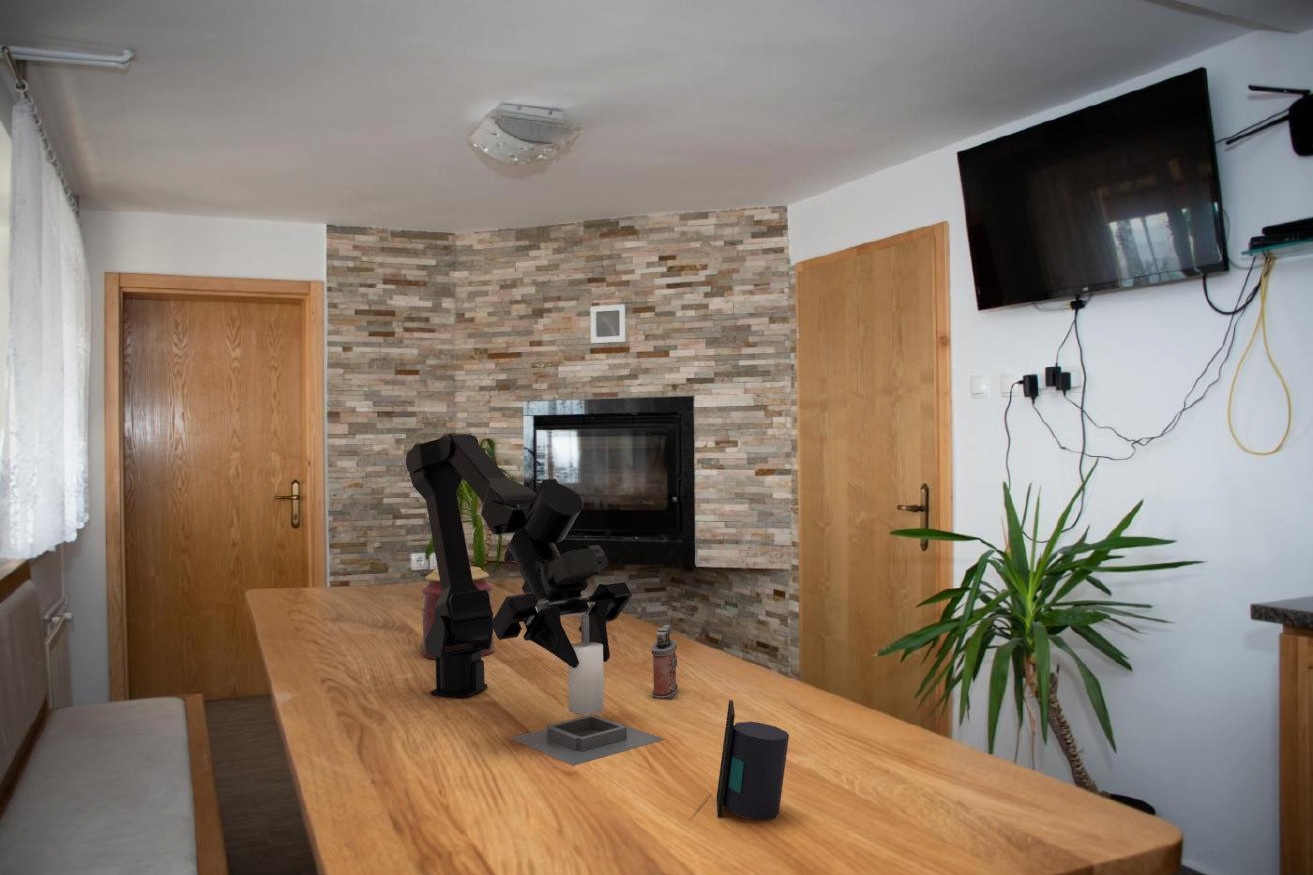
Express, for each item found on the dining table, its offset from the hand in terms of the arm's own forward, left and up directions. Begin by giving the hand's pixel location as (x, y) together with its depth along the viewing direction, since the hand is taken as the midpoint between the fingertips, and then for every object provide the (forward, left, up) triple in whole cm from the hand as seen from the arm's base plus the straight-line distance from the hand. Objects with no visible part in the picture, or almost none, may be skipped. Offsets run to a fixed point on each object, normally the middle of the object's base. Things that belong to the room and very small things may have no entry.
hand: (592, 662), depth 116 cm
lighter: (+1, +25, -10) cm, 27 cm away
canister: (-45, +42, -10) cm, 62 cm away
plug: (-1, +1, -6) cm, 6 cm away
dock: (-1, +1, -10) cm, 10 cm away
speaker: (+24, -14, -10) cm, 30 cm away
